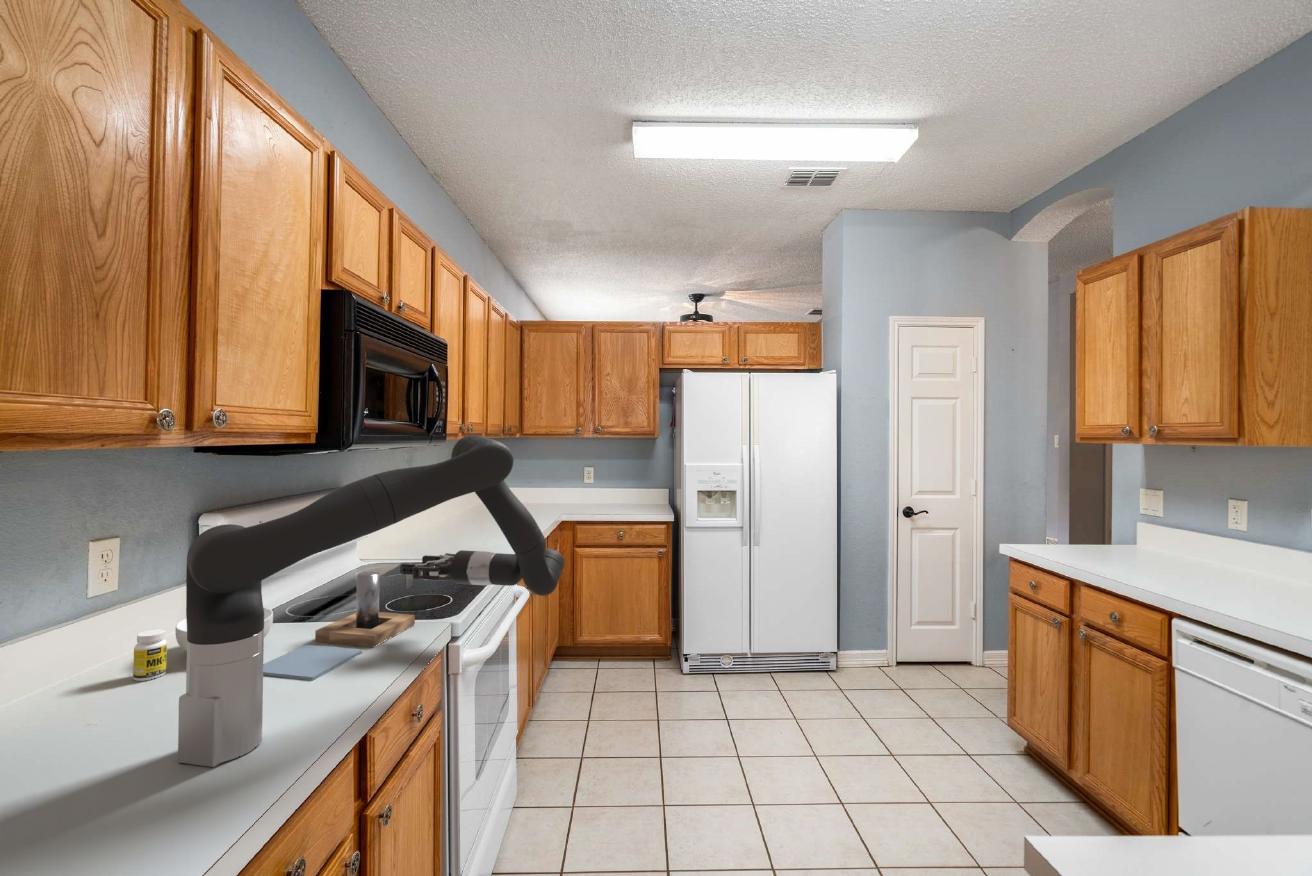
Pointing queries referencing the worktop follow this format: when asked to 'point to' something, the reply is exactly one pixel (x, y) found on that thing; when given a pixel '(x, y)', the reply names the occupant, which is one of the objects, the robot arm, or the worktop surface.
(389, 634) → the frame
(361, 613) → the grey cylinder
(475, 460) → the robot arm
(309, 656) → the mat
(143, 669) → the supplement bottle
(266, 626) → the cereal bowl
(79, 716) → the worktop surface
